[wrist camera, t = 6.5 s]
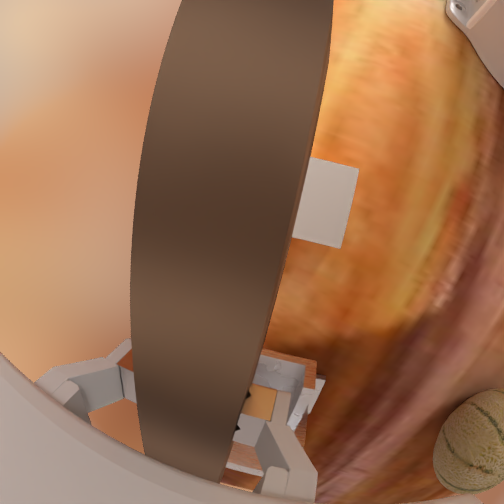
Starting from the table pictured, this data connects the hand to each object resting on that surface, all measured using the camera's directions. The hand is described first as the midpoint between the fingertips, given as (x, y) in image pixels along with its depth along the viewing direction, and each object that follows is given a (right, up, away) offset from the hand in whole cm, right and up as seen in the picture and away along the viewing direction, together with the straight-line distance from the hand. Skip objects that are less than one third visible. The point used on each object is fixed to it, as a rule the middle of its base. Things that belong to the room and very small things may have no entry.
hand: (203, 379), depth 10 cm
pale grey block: (+7, +9, +14) cm, 18 cm away
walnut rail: (0, 0, +2) cm, 2 cm away
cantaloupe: (+32, -17, +16) cm, 40 cm away
